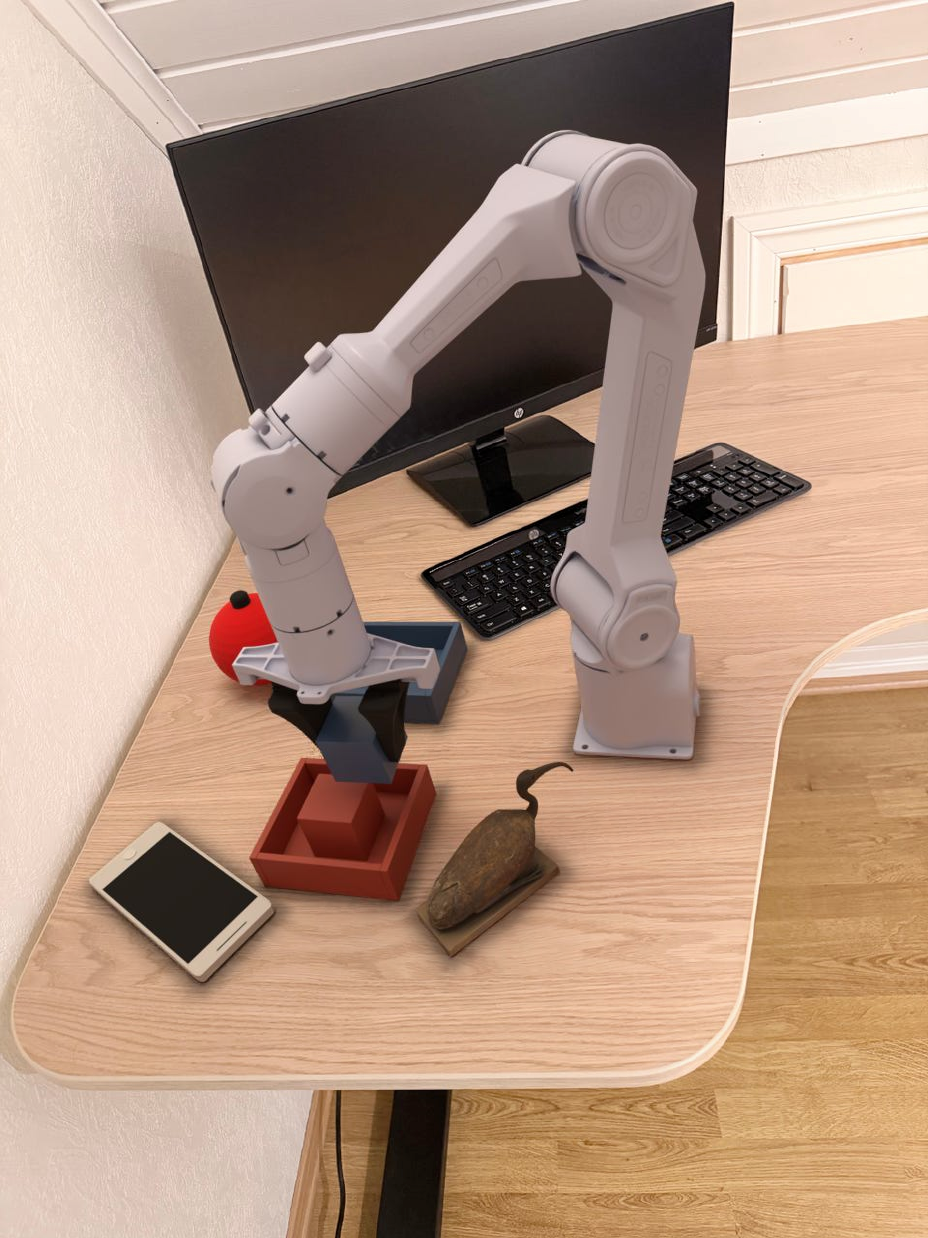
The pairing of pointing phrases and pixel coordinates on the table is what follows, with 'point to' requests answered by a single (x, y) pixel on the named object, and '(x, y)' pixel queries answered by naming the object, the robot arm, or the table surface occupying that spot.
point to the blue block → (353, 745)
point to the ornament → (239, 631)
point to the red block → (341, 818)
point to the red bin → (382, 876)
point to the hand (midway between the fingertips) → (365, 750)
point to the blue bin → (450, 656)
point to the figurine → (489, 871)
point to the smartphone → (182, 899)
